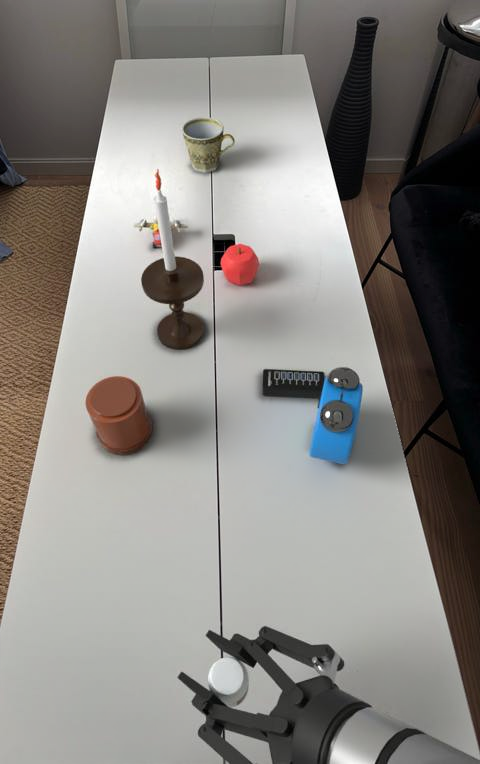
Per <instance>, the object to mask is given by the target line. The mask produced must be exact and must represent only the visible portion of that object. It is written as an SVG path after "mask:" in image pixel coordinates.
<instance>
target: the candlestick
mask: <svg viewBox="0 0 480 764" xmlns="http://www.w3.org/2000/svg"><path fill="white" fill-rule="evenodd" d="M154 177H155V179H156V180H155V188H156V196H154V198H153V202H154V207H155V213H156V214H157V220H158V226H159V232H160V238H161V244H162V247H161V249H162V256H163V257H162V258H159V259H156V260H155V261H153V262H151V263H150V264H148V265H147V266H146V268H145V269H144V270H143V272H142V274H141V278H140V281H141V287H142V290H143V292H144V294H145V295H146V296H147V297H148V298H149V299H150V300H152V301H154V302H156V303H159V304H162V305H168V306H169V310H170V311H171V313H170V314H168V315H166V316H164V317H163V318H162V319H161V320H160V321H159V323H158V324H157V326H156V327H157V329H156V334H157V338H158V340H159V342H160V343H161V344H162V345H163V346H164V347H166V348H168V349H171V350H175V351H183V350H188V349H191V348H193V347H195V346H197V344H199V343H200V342H201V340H202V339H203V337H204V334H205V328H204V323H203V321H202V320H201V318H200V317H199V316H197V315H196V314H194V313H192V312H187V311H184V308H185V302H188V301H190V300H192V299H194V298H195V297H197V295H198V294H200V292H201V291H202V289H203V287H204V284H205V282H204V281H205V277H204V271H203V269H202V267H201V266H200V264H199V263H197V262H196V261H194V260H192V259H190V258H187V257H185V256H178V255H177V256H176V255H175V248H174V242H173V241H174V239H173V235H172V234H173V233H172V228H171V227H170V222H171V221H170V220H171V219H170V213H169V206H168V199H167V196H165V195H164V194H163V193H162V189H161V188H162V178H161V176H160V171H159V168H157V169H156V172H155V174H154ZM156 214H155V215H156Z"/></svg>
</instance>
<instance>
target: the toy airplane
mask: <svg viewBox="0 0 480 764" xmlns="http://www.w3.org/2000/svg"><path fill="white" fill-rule="evenodd" d="M170 227H171V229H177V232H178V233H181V230H182V229H187V228H188V224H186V223H181V221H180V220H179V219H175V218H173V219H172V221H170ZM133 228H139V229H138V231H139V232H142V231H143V228H146V229H147V228H149V229H150V230H153V241H152V249H156V247H158V248H162V244H161V238H160V232H159V226H158V220H157V214H154V216H153V222H147V218H144V219H141V220H140V221H139V222H135V223H134V224H133Z"/></svg>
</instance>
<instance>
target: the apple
mask: <svg viewBox="0 0 480 764" xmlns="http://www.w3.org/2000/svg"><path fill="white" fill-rule="evenodd" d="M259 266H260V260H259V257H258V255H257V254H256V252H255V250H254V249H253V248H252V247H251V246H250V245H246V244H242V243H238V244H234V245H230V246H229V247H228V248H227V249H226V251H225V252H224V253H223V255H222V257H221V259H220V267H221V269H222V273H223V274H224V277H225V279H226V280H227V283H230V284H233V285H236V286H243V285H246V284H250V283H252V282H253V280H255V277H256V275H257V273H258V269H259Z"/></svg>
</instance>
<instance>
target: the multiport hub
mask: <svg viewBox="0 0 480 764" xmlns="http://www.w3.org/2000/svg"><path fill="white" fill-rule="evenodd" d="M325 374H326V373H325V372H324V371H318V370H317V371H314V370H298V369H296V370H295V369H294V370H293V369H277V368H275V369H274V368H264V369H263V371H262V383H261V384H262V385H261V394H262V396H263V397H274V398H275V397H278V398H298V399H313V400H314V399H315V400H316V399H317V400H319V398H320V395H321V391H322V390H323V386H324V381H325V378H326V377H325V376H326V375H325Z"/></svg>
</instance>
